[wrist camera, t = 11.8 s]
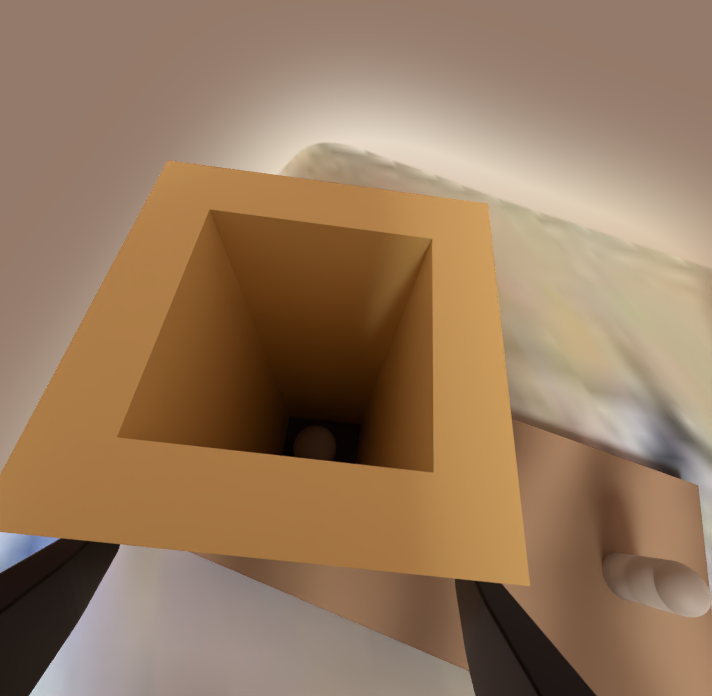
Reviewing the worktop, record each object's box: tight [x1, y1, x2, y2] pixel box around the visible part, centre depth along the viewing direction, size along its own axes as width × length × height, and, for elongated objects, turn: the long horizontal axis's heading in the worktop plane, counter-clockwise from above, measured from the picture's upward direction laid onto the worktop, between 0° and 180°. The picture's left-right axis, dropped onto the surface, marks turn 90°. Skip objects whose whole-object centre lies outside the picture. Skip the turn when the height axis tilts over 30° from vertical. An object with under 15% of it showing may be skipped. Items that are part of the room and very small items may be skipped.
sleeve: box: [0, 161, 530, 586], centre depth 10 cm, size 6×6×13 cm
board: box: [189, 416, 712, 696], centre depth 15 cm, size 23×11×4 cm, turn 70°
